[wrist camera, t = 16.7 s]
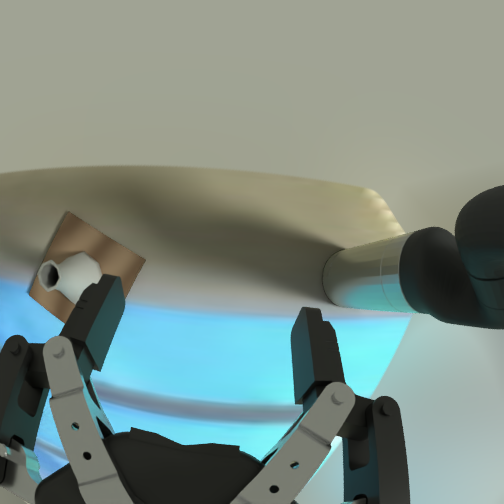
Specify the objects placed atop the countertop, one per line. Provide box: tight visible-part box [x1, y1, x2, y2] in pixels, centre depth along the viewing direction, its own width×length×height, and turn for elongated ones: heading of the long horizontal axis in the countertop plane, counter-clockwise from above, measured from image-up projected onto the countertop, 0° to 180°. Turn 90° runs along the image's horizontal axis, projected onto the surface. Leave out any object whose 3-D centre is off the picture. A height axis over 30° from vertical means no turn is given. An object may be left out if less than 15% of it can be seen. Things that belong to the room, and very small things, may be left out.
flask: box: [37, 251, 102, 305], centre depth 28 cm, size 7×7×10 cm
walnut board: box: [29, 212, 145, 323], centre depth 33 cm, size 14×14×1 cm
